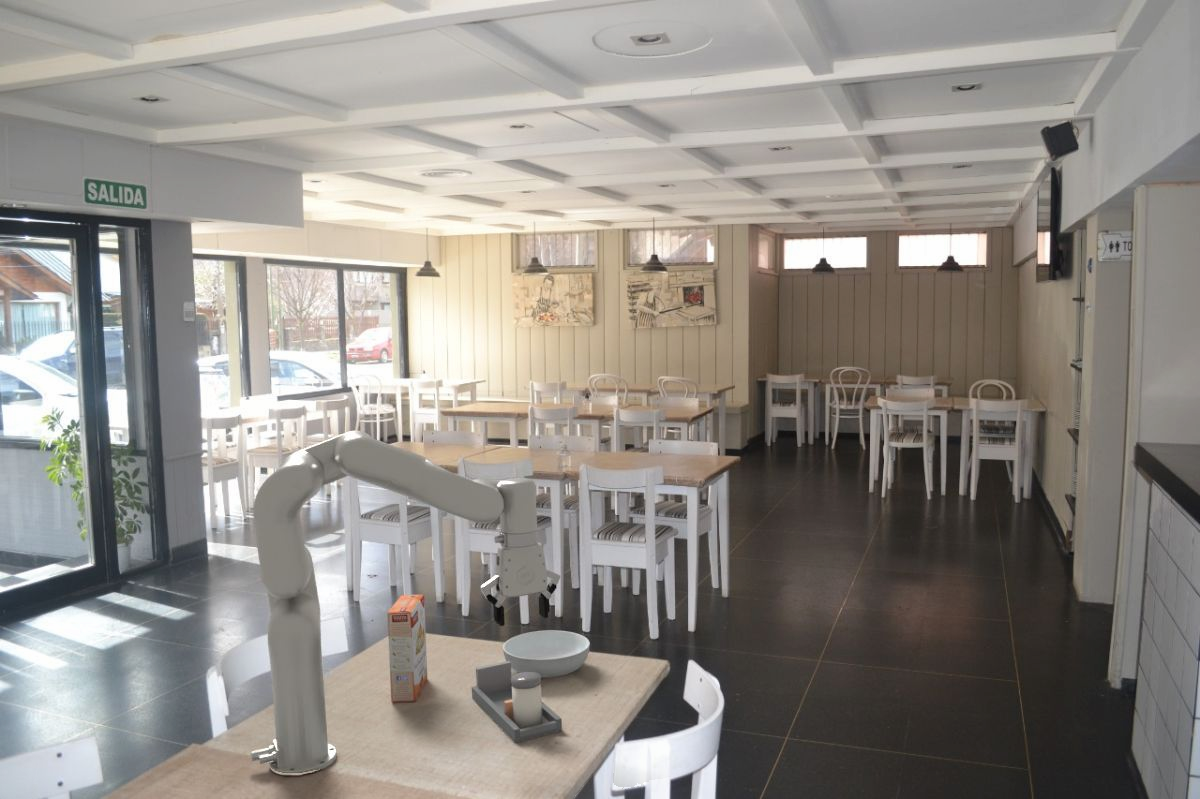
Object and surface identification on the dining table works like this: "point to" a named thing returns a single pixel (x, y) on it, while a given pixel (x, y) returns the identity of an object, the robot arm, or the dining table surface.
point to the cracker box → (407, 648)
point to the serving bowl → (547, 652)
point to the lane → (499, 689)
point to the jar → (526, 699)
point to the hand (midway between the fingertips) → (522, 620)
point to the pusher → (508, 708)
